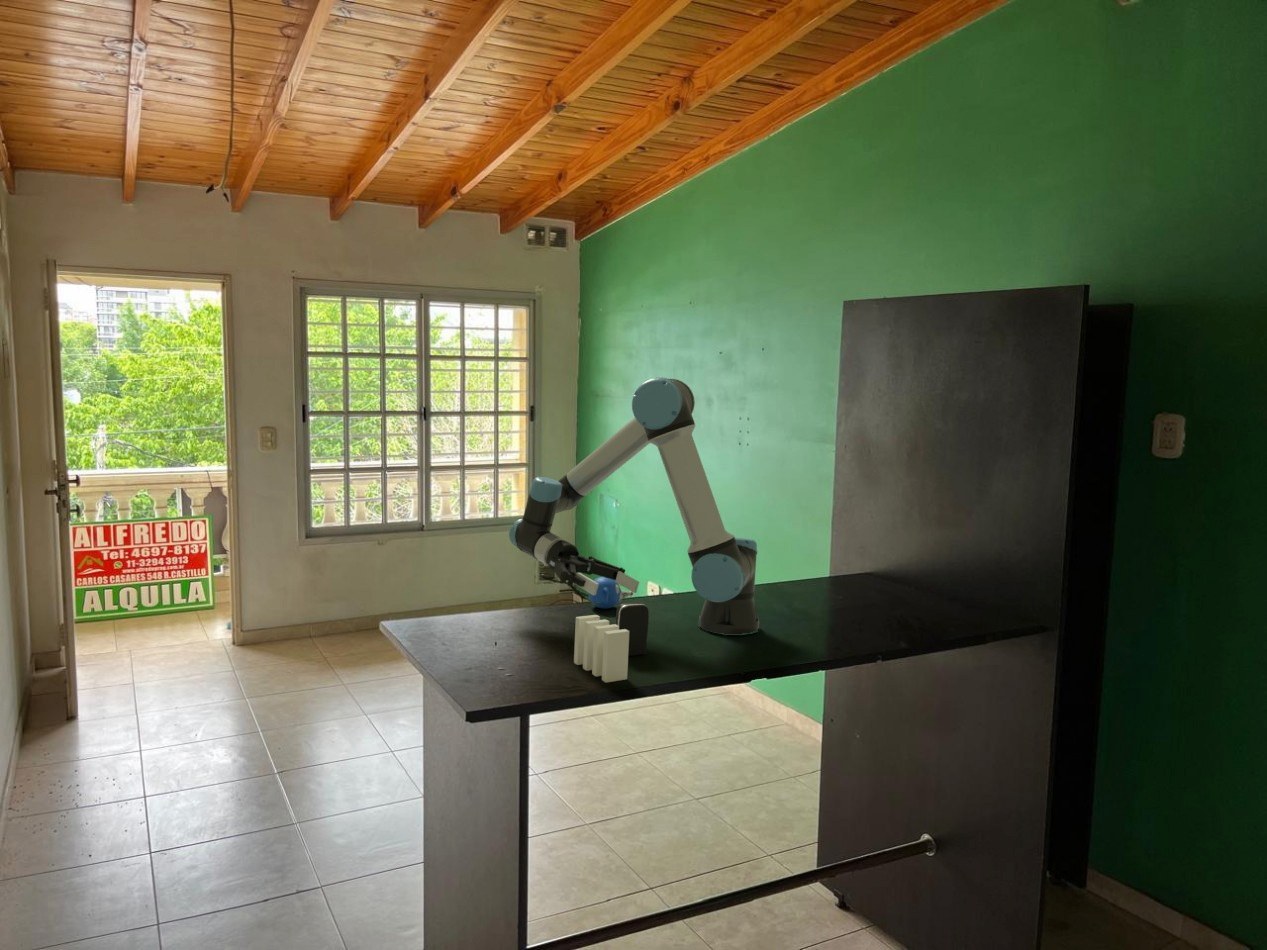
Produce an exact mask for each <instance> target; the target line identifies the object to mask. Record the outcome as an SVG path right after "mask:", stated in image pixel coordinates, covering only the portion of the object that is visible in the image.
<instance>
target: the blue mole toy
mask: <svg viewBox="0 0 1267 950" xmlns="http://www.w3.org/2000/svg"><path fill="white" fill-rule="evenodd" d="M593 581H595V582H596V583H598V584H599V585H598V589H597V592H596V595H592V594H590V593H589V592H588V597H589V601H590V603H591V604H592V605H593V606H594V607H596V608H599V609H601V610H604V609H605V610H606V609H610V608H613V607H614V606H616V605H617V604H619V603H621V602H622V600H623V599H624V600H625V599H626V598H628V597H629V596H630V597H631V596H633V595H634V593H633V592H632V591H629V590H623V589H621V588H620V587H621V585H620V584H618V583H616V582H615V581H616V580H612V579H609V578H606V577H602V576H599V577H597V578H595V579H593ZM593 602H601V603H593Z"/></svg>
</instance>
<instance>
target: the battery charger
mask: <svg viewBox="0 0 1267 950" xmlns="http://www.w3.org/2000/svg"><path fill="white" fill-rule="evenodd" d="M615 614H616V616H615V624H616V625H618V626H619V630H622V629H626V630H628V631H629V649H628V657H629V656H630V657H631V656H640V655H647V650H648V649H647V648H648V647H647V645H648V632H649V620H650V619H649V618H650V617H649V615H650V614H649V608H648V606H647V605H645V604H644V603H642V602H626V603H621V604H619V605H617V608H616V613H615Z"/></svg>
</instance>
